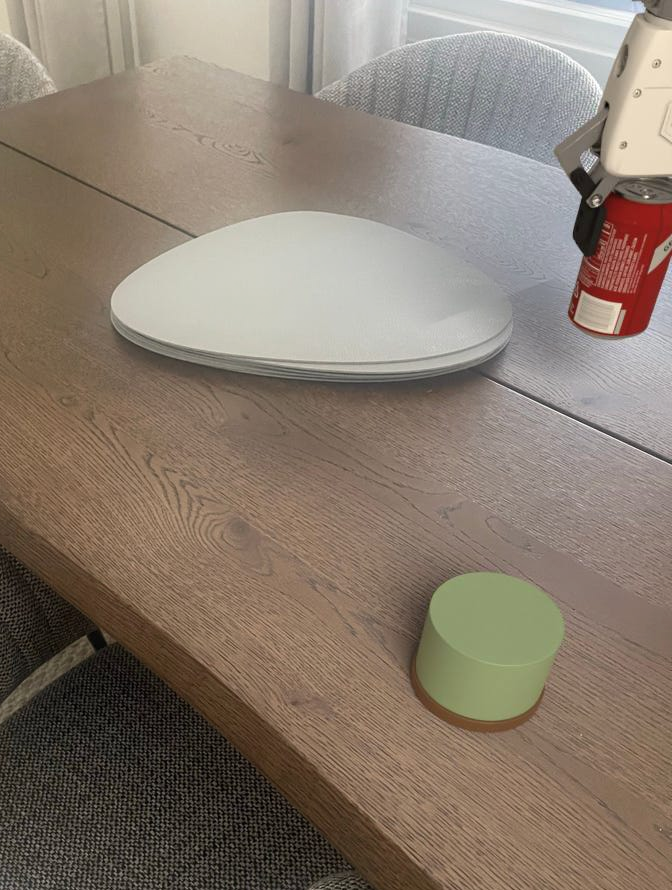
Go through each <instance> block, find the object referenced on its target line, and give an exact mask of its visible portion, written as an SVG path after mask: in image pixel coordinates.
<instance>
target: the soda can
mask: <svg viewBox="0 0 672 890" xmlns="http://www.w3.org/2000/svg"><path fill="white" fill-rule="evenodd" d="M603 204H604V205H605V207H606V208H607V215H606V218H605V222H604V225H603V229H602V232H601V236H600V239H599V243H598V246H597V250H596V253H595V255H593V256H592V257H585V256H584V255H583V254H582V258H581V262H580V265H579V269H578V272H577V276H576V280H575V283H574V287H573V291H572V295H571V298H570V302H569V304H568V309H567V319H568V321H569V322H570V324H571V326H573V327H575V328H576V329H577V330H579V331H580V332H581V333H583V334H584V335H586V336H589V337H591V338H594V339H597V340H603V341H621V340H625V339H630V338H634V337H637V336H639V335H641V334H643V333H644V332H645V331H646V330H647V328H648V326H649V325H650V321H651V318H652V316H653V312H654V310H655V306H656V304H657V301H658V298H659V294H660V292H661V290H662V286H663V284H664V280H665V278H666V274H667V272H668V268H669V266H670V263H671V260H672V177H646V178H621V179H620V180H619V182H618V183H617V184H616V186H615V187H614V188H613V190H612V191H611V192H610V193H609V195H608V196H607V197H606V199H605V200H604V203H603Z"/></svg>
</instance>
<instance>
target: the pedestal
mask: <svg viewBox="0 0 672 890" xmlns="http://www.w3.org/2000/svg"><path fill="white" fill-rule="evenodd" d="M565 627H566V626H565V622H564V618H563V614H562V612H561V611H560V609H559V607H558V606H557V604H556V603H555V601H553V600H552V599H551V597H550V596H548V595H547V594H546V593H545V592H543V590H541V589H540V588H538V587H537V586H535V585H533V584H532V583H530V582H528V581H525V580H524V579H522V578H518V577H516V576H512V575H509V574H505V573H500V572H493V571H476V572H475V571H474V572H467V573H463V574H459V575H456V576H453V577H451V578H449V579H447V580H446V581H445V582H443V583H441V584H440V586H438V587H437V589H436V590H435V591H434V592H433V594H432V596H431V599H430V602H429V605H428V609H427V612H426V618H425V621H424V625H423V628H422V633H421V636H420V641H419V645H418V646H417V648H416V649H415V652H414V654H413V657H412V662H411V665H410V670H409V671H410V672H409V673H410V675H409V677H410V683H411V686H412V689H413V691H414V693H415V695H416V697H417V698H418V700H419V701H420V703H421V704H422V705H423V706H424V707H425V708H426V709H427V710H428V711H429V712H430V713H431V714H433V715H434V716H436V717H437V718H439V719H440V720H442V721H444V723H445V722H446V723H447V724H449V725H451V726H454V727H457V728H460V729H462V730H465V731H470V732H478V733H501V732H506V731H510V730H513V729H516V728H518V727H519V726H522V725H523V724H525V723H527V722H528V721H529V720H530V719H531V718H532V717H533V716H535V714H536V713H537V711H538V709H539V707H540V706H541V703H542V700H543V698H544V695H545V691H546V682H547V680H548V677H549V675H550V672H551V670H552V667H553V665H554V663H555V660H556V658H557V655H558V652H559V650H560V647H561V645H562V643H563V642H564V641H563V640H564V637H565V629H566V628H565Z"/></svg>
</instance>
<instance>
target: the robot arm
mask: <svg viewBox="0 0 672 890" xmlns="http://www.w3.org/2000/svg"><path fill="white" fill-rule="evenodd" d="M631 2H641V3H642V4H643V7H644V8H645V9H644V12H639V13H636V14H635V15H634V17H633V19H632V20H631V24H630V25H629V27H628V29H627V32H626V34H625V36H624V39H623V41H622V43H621V45H620V47H619V50H618V52H617V55H616V57H615V59H614V62H613V64H612V67H611V70H610V72H609V75H608V78H607V81H606V84H605V87H604V90H603V93H602V96H601V99H600V102H599V105H598V109H597V111H596V114H595V115H594V116H593V117H592V118H590V119H589V120H588V121H587V122H586V123H584V124H582V125H581V126H580V127H579V128H578V129H577V130H575V131H574V132H572V133H571V134H570V135H569V136H568V137H566V138H565V139H564V140H562V141H561V142H560V143H559V144H558V145H556V146H555V148H554V149H553V155H554V158H555V159H556V160H557V162H558V164H559V165H560V167H561V169H562V170H563V172H564V174H565V176H566V177H567V178H568V180H569V181H570V182H571V184H572V186H574V188H575V189H576V190H577V192H578V193H579V195H580V196H581V198H580V202H579V205H578V210H577V212H576V213H577V214H576V217H575V221H574V224H573V227H572V239H573V242H574V244H575V245H576V247H577V248H578V249H579V251H580V252H581V253H582V256H583V255H584V256H585V257H592V256H593V255H595V253H596V250H597V246H598V243H599V239H600V236H601V232H602V229H603V225H604V222H605V218H606V215H607V208H606V207H605V205H604V204H603V203H604V200H605V199H606V197H607V196H608V195H609V193H610V192H611V191H612V190H613V188H614V187H615V186H616V184H617V183H618V182H619V180H620V179H621V178H646V177H670V178H672V0H631ZM587 150H589V152H590V154H592V156H594V157H597V159H596V160H595V161H594V163H593V164H592V165H591V167H590V168H589V170H586V169H585V167H584V166H583V164H582V161H581V156H582V155H583V154H584V153H585V152H586V151H587Z"/></svg>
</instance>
